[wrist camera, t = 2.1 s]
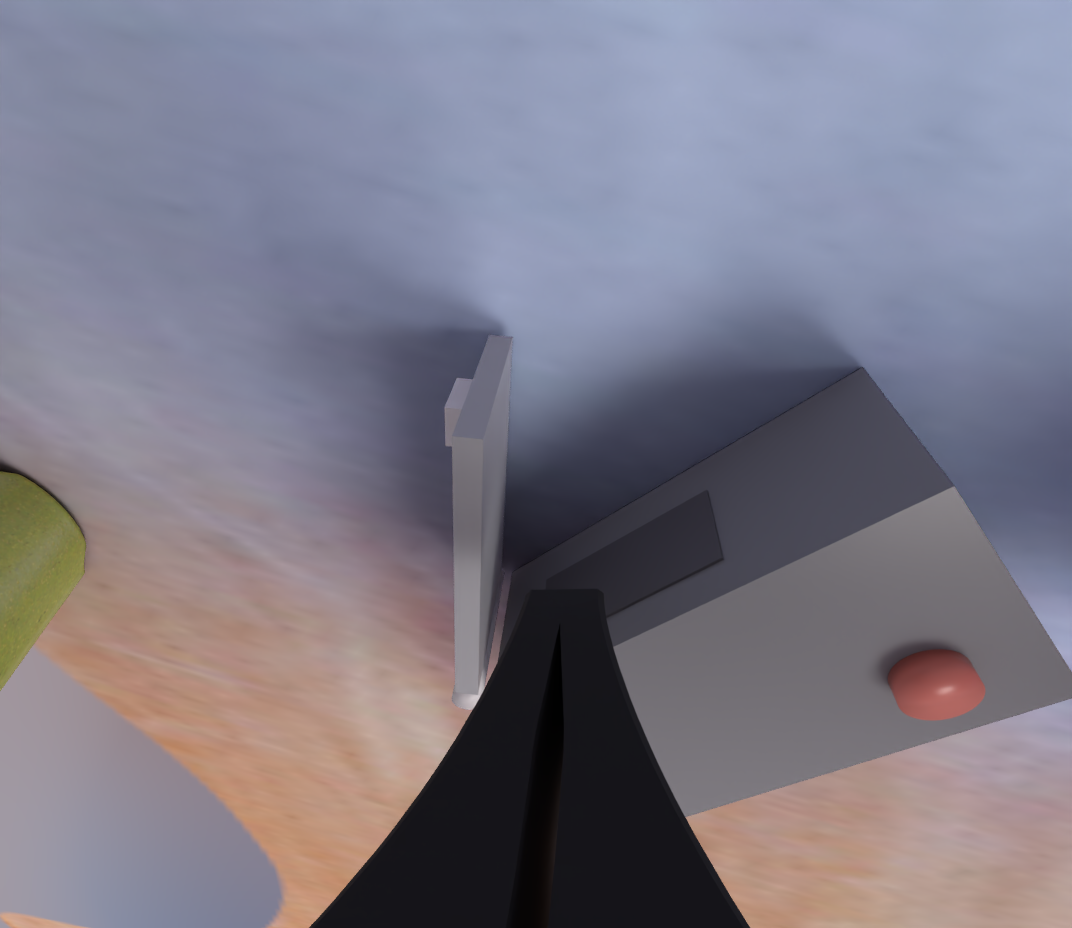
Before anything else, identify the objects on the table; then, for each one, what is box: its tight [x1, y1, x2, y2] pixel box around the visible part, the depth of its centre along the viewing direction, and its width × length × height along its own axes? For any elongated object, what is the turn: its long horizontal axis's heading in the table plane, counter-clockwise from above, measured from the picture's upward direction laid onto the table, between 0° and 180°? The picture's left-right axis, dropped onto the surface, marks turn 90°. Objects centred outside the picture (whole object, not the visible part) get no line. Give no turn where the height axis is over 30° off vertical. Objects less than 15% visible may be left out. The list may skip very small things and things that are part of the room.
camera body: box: [498, 367, 1072, 817], centre depth 18 cm, size 14×8×6 cm, turn 131°
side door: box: [445, 335, 513, 710], centre depth 16 cm, size 9×1×5 cm, turn 176°
